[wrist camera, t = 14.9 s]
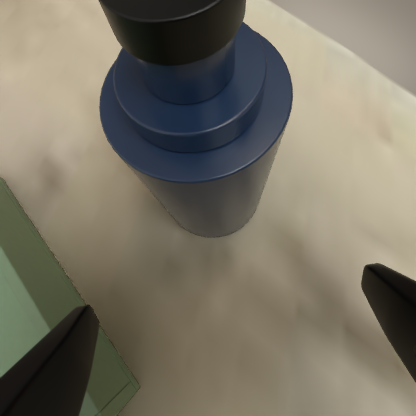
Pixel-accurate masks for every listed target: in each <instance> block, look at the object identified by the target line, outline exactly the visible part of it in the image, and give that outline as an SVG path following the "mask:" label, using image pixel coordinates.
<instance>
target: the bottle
mask: <svg viewBox="0 0 416 416" xmlns="http://www.w3.org/2000/svg"><path fill="white" fill-rule="evenodd" d="M99 2H100V4H101V7H102V9H103V11H104V13H105V15H106V17H107V19H108V22H109V24H110V26H111V28H112V30H113V32H114V34H115V36H116V38H117V40H118V42H119V43H120V44H121V46H122V47H123V48H122V49H121V51H120V53H119V55H118V57H117V59H116V61H115V62H114V64H113V65H112V67H111V68H110V70H109V72H108V74H107V76H106V78H105V81H104V84H103V86H102V91H101V96H100V118H101V123H102V127H103V131H104V133H105V135H106V137H107V140H108V142H109V143H110V145H111V146H112V148H113V149H114V151H115V152H116V153H117V154H118V155H119V156H120V157H121V159H122V160H123V161H124V162H125V163H126V164H127V165H128V167H129V168H130V169H131V170H132V171H133V172H134V173H135V174H136V176H137V177H138V178H139V179H140V180H141V181H142V182H143V184H144V185H145V186H146V187H147V188H148V189H149V190H150V192H151V193H152V194H153V195H154V196H155V197H156V198H157V200H158V201H159V202H160V203H161V204H162V205H163V206H164V208H165V209H166V210H167V211H168V212H169V213H170V214H171V216H172V217H173V218H174V219H175V220H176V221H177V222H178V223H179V225H181V226H182V227H183V228H184V229H186V230H187V231H189V232H191V233H193V234H196V235H199V236H203V237H221V236H226V235H229V234H231V233H234V232H235V231H237V230H239V229H240V228H242V227H243V226H244V225H245V224H246V223H247V222H248V221H249V220H250V219H251V218H252V216H253V214H254V213H255V211H256V208H257V206H258V203H259V201H260V198H261V195H262V192H263V189H264V187H265V184H266V181H267V178H268V175H269V173H270V170H271V167H272V164H273V161H274V159H275V156H276V153H277V150H278V147H279V145H280V142H281V139H282V136H283V134H284V131H285V128H286V125H287V122H288V119H289V116H290V112H291V109H292V101H293V88H292V82H291V77H290V74H289V71H288V68H287V65H286V63H285V62H284V60H283V58H282V56H281V55H280V53H279V52H278V51H277V50H276V48H275V47H274V46H273V45H272V44H271V43H270V42H269V41H268V40H267V39H265V38H264V37H263V36H261V35H260V34H259V33H257V32H255V31H253V30H252V29H251V28H250V27H249V26H248V25H247V24H245V23H244V22H242V21H243V19H244V15H245V6H246V0H99Z"/></svg>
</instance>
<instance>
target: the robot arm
mask: <svg viewBox="0 0 416 416" xmlns="http://www.w3.org/2000/svg"><path fill="white" fill-rule="evenodd" d="M361 286H362V290H363V292H364V294H365V296H366V298H367V300H368V302H369V304H370V306H371V308H372V310H373V312H374V314H375V316H376V318H377V320H378V322H379V324H380V325H381V327H382V329H383V331H384V333H385V335H386V337H387V338H388V340H389V342H390V343H391V345H392V346H393V348H394V350H395V351H396V353H397V354H398V356H399V357H400V359H401V360H402V362H403V364H404V365H405V367H406V368H407V370H408V371H409V373H410V374H411V376H412V377H413V379H414V381H415V382H416V281H414V280H412V279H410V278H408V277H406V276H404V275H402V274H400V273H398V272H396V271H394V270H392V269H390V268H388V267H386V266H384V265H382V264H379V263H375V264H368V265H366V266H365V267H364V270H363V276H362V282H361ZM98 332H99V321H98V319H97V317H96V315H95V313H94V311H93V309H92V307H91V306H90V305H83V306H78V307H76V308H74V309H73V310H72V311H71V312H70V313H69V314H68V315H67V316H66V317H65V318H64V319H62V320H61V321H60V322H59V323H58V324H57V325H56V326H55V327H54V328H53V329H52V330H51V331H50V332H49V333H47V334H46V335H45V336H44V337H43V338H42V339H41V340H40V341H39V342H38V343H37V344H36V345H35V346H34V347H33V348H31V349H30V350H29V351H28V352H27V353H26V354H25V355H24V356H23V357H22V358H21V359H20V360H19V361H18V362H16V363H15V364H14V365H13V366H12V367H11V368H10V369H9V370H8V371H7V372H6V373H5V374H4V375H3V376H1V377H0V416H79V414H80V411H81V407H82V404H83V400H84V397H85V393H86V390H87V386H88V383H89V379H90V375H91V370H92V365H93V360H94V354H95V349H96V343H97V338H98Z"/></svg>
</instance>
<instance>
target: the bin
mask: <svg viewBox="0 0 416 416" xmlns="http://www.w3.org/2000/svg"><path fill="white" fill-rule="evenodd" d="M83 305H86V304H85V303H84V301H83V300H82V298H81V297H80V295H79V294H78V292H77V291H76V289H75V288H74V286H73V284H72V283H71V281H70V280H69V278H68V277H67V275H66V274H65V272H64V271H63V269H62V268H61V266H60V265H59V263H58V262H57V260H56V259H55V257H54V256H53V254H52V253H51V251H50V250H49V248H48V247H47V245H46V244H45V242H44V241H43V239H42V238H41V236H40V235H39V233H38V232H37V230H36V229H35V227H34V226H33V224H32V223H31V221H30V219H29V218H28V216H27V215H26V213H25V212H24V210H23V209H22V207H21V206H20V204H19V203H18V201H17V200H16V198H15V197H14V195H13V194H12V192H11V191H10V189H9V188H8V186H7V185H6V183H5V182H4V180H3V179H2V178H1V177H0V377H1V376H3V375H4V374H5V373H6V372H7V371H8V370H9V369H10V368H11V367H12V366H13V365H14V364H15V363H16V362H18V361H19V360H20V359H21V358H22V357H23V356H24V355H25V354H26V353H27V352H28V351H29V350H30V349H31V348H33V347H34V346H35V345H36V344H37V343H38V342H39V341H40V340H41V339H42V338H43V337H44V336H45V335H46V334H47V333H49V332H50V331H51V330H52V329H53V328H54V327H55V326H56V325H57V324H58V323H59V322H60V321H61V320H62V319H64V318H65V317H66V316H67V315H68V314H69V313H70V312H71V311H72V310H73V309H74V308H76V307H78V306H83ZM139 388H140V386H139V384H138V383H137V381H136V380H135V378H134V377H133V375H132V374H131V372H130V371H129V369H128V368H127V366H126V365H125V363H124V362H123V360H122V359H121V357H120V356H119V354H118V353H117V351H116V349H115V348H114V346H113V345H112V343H111V342H110V340H109V339H108V337H107V336H106V334H105V333H104V331H103V330H102V328H101V327H100V325H99V332H98V338H97V343H96V349H95V354H94V360H93V365H92V370H91V375H90V379H89V383H88V386H87V390H86V393H85V397H84V400H83V404H82V407H81V411H80V414H79V416H116V415H117V414H118V413H119V412H120V411H121V409H122V408H123V407H124V406H125V405H126V404H127V402H128V401H129V400H130V399H131V398H132V396H133V395H134V394H135V393H136V392H137V391H138V389H139Z"/></svg>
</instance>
